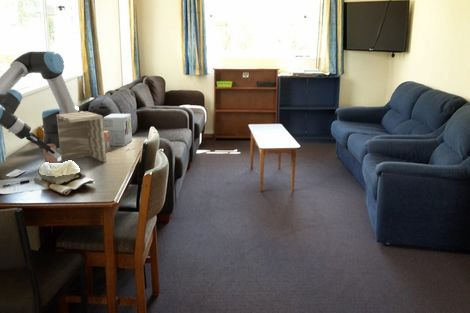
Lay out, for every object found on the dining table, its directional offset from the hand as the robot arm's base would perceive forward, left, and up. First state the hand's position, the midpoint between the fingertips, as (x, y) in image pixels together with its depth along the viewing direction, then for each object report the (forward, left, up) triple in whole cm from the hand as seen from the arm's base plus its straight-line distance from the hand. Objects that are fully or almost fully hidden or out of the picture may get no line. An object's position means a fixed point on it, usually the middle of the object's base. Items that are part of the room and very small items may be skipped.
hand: (56, 155), depth 242 cm
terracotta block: (0, -3, -4) cm, 5 cm away
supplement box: (-33, +50, -7) cm, 61 cm away
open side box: (-3, +15, -6) cm, 17 cm away
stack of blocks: (-23, +28, -7) cm, 37 cm away
